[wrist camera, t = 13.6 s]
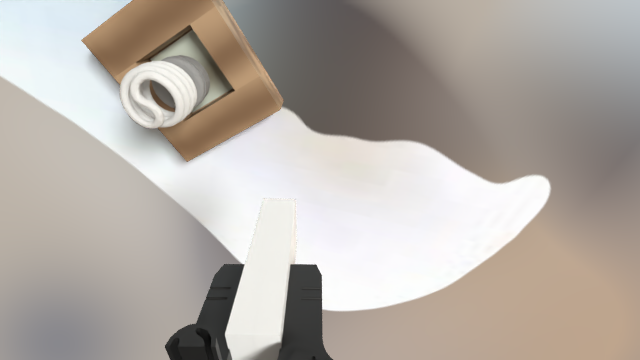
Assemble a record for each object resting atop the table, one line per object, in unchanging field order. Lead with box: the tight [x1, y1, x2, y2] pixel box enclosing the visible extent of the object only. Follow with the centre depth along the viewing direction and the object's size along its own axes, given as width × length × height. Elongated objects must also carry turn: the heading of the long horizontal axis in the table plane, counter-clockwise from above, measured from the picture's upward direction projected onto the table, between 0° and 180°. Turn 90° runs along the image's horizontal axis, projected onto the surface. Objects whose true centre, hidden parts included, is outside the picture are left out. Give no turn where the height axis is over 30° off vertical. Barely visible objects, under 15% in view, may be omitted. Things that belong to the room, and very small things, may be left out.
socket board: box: [81, 0, 284, 162], centre depth 34 cm, size 16×14×4 cm
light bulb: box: [120, 55, 210, 129], centre depth 30 cm, size 6×6×12 cm
